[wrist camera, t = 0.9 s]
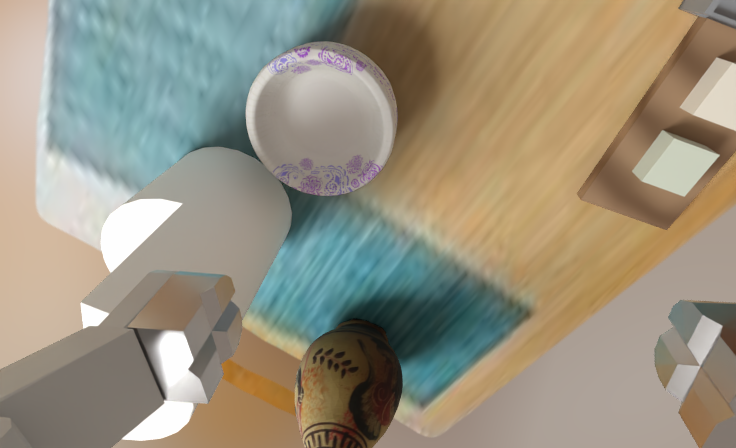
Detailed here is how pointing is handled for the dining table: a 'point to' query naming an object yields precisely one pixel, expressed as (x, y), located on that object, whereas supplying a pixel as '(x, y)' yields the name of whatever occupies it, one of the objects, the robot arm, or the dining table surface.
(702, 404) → the robot arm
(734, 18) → the grey bin
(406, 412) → the dining table surface
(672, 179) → the sage tile
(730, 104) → the cream tile
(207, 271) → the cylinder
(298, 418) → the ceramic jug
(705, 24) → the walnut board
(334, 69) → the white purple floral bowl
